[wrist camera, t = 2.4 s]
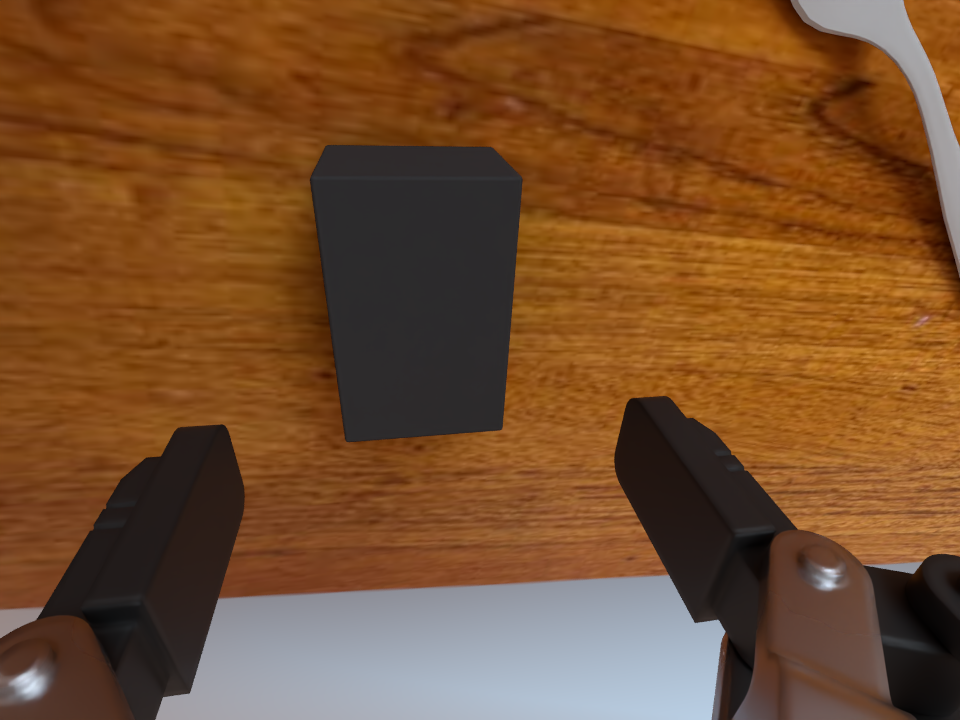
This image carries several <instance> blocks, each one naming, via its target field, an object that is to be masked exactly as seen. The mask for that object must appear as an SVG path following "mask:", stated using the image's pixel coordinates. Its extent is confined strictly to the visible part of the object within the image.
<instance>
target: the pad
mask: <svg viewBox="0 0 960 720" xmlns="http://www.w3.org/2000/svg"><path fill="white" fill-rule="evenodd" d="M310 184H311V191H312V198H313V206H314V213H315V221H316V228H317V235H318V243H319V250H320V257H321V265H322V272H323V279H324V287H325V294H326V301H327V309H328V316H329V324H330V331H331V338H332V346H333V353H334V360H335V368H336V375H337V382H338V390H339V397H340V404H341V412H342V419H343V426H344V434H345V440H346V441H347V442H357V441H370V440H382V439H395V438H408V437H421V436H433V435H446V434H459V433H472V432H485V431H497V430H502V427H503V415H504V402H505V390H506V378H507V365H508V353H509V341H510V328H511V316H512V303H513V291H514V279H515V266H516V254H517V242H518V229H519V217H520V205H521V192H522V177H521V176H520V175H519V174H518V173H517V172H516V171H515V170H514V169H513V168H512V167H511V166H510V165H509V164H508V163H507V162H506V161H505V160H504V159H503V158H502V157H501V156H500V155H499V154H498V153H497V152H496V151H495V150H494V149H493V148H492V147H438V146H354V145H327V146H326V147H325V149H324V151H323V153H322V155H321V157H320V159H319V161H318V163H317V165H316V167H315V169H314V171H313V173H312V175H311V178H310Z"/></svg>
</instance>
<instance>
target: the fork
mask: <svg viewBox="0 0 960 720" xmlns="http://www.w3.org/2000/svg"><path fill="white" fill-rule="evenodd" d="M791 3H792V5H793V7H794V9H795V10H796V11H797V13H798V14H799V16H800V17H801V19H802V20H803V21H804V22H805V23H807V24H809V25H810V26H812V27H814V28H815V29H817V30H819V31H821V32H826V33H830V34H835V35H840V36H845V37H851V38H856V39H859V40H862V41H865V42H868V43H870V44H872V45H873V46H875V47H877V48H878V49H880V50H882V51H883V52H884V53H885V54H886V55H887V56H888V57H889V58H890V59H891V60H892V61H893V62H895V64H896V65H897V66H898V68H899V69H900V71H901V72H902V73H903V75H904V76H905V78H906V80H907V82H908V84H909V86H910V87H911V89H912V91H913V94H914V97H915V100H916V103H917V106H918V109H919V112H920V115H921V119H922V122H923V126H924V130H925V134H926V138H927V142H928V145H929V150H930V154H931V159H932V164H933V169H934V174H935V179H936V184H937V188H938V193H939V199H940V204H941V209H942V214H943V218H944V222H945V226H946V229H947V233H948V236H949V240H950V243H951V247H952V250H953V254H954V258H955V261H956V265H957V269H958V272H959V276H960V147H959V144H958V142H957V139H956V137H955V134H954V132H953V129H952V126H951V122H950V119H949V116H948V113H947V110H946V107H945V103H944V100H943V97H942V94H941V91H940V88H939V85H938V82H937V79H936V76H935V74H934V71H933V69H932V67H931V64H930V62H929V59H928V57H927V55H926V53H925V51H924V49H923V47H922V45H921V43H920V41H919V39H918V37H917V36H916V34H915V32H914V30H913V28H912V26H911V23H910V21H909V18H908V15H907V13H906V10H905V7H904V2H903V0H791Z"/></svg>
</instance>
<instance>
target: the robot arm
mask: <svg viewBox="0 0 960 720" xmlns="http://www.w3.org/2000/svg"><path fill="white" fill-rule="evenodd" d="M614 463H615V470H616V475H617V478H618V481H619V483H620V485H621V487H622V488H623V490H624V492H625V494H626V496H627V498H628V500H629V501H630V503H631V505H632V507H633V509H634V511H635V513H636V514H637V516H638V518H639V520H640V522H641V524H642V526H643V527H644V529H645V531H646V533H647V535H648V537H649V539H650V540H651V542H652V544H653V546H654V548H655V550H656V552H657V553H658V555H659V557H660V559H661V561H662V563H663V565H664V566H665V568H666V570H667V572H668V574H669V576H670V578H671V579H672V581H673V583H674V585H675V587H676V589H677V590H678V592H679V594H680V596H681V598H682V600H683V601H684V603H685V605H686V607H687V609H688V611H689V613H690V615H691V616H692V618H693V620H694V622H695V623H698V622H705V621H712V620H719V621H720V623H721V624H722V626H723V628H724V630H725V631H726V632H725V635H724V636H723V638H722V642H721V648H720V657H719V665H718V673H717V681H716V689H715V698H714V705H713V714H712V720H960V557H959V556H955V555H948V554H936V555H932V556H929V557H927V558H926V559H925V560H924V561H923V563H922V564H921V565H920V567H919V568H918V569H917V570H916V572H915V573H914V574H910V573H905V572H899V571H893V570H887V569H881V568H875V567H870V566H864V565H862V564H861V563H860V561H859V560H858V559H857V558H856V557H855V556H854V555H853V554H851V553H850V552H849V551H848V550H846V549H845V548H844V547H842V546H841V545H839V544H838V543H836V542H834V541H832V540H830V539H829V538H826V537H824V536H822V535H819V534H816V533H813V532H809V531H804V530H798V529H797V528H796V527H795V526H794V525H793V523H792V522H791V521H790V520H789V519H788V518H787V516H786V515H785V514H784V513H783V512H782V511H781V509H780V508H779V507H778V506H777V505H776V504H775V502H774V501H773V500H772V499H771V498H770V497H769V495H768V494H767V493H766V492H765V491H764V489H763V488H762V487H761V486H760V485H759V484H758V482H757V481H756V480H755V479H754V478H753V477H752V475H751V474H750V473H749V472H748V471H745V470H744V466H743V465H742V464H741V463H740V461H739V460H738V459H737V458H736V457H735V456H734V455H731V451H730V450H729V448H728V447H727V446H726V445H725V444H724V443H723V441H722V440H721V439H720V438H719V437H718V436H717V434H716V433H714V432H713V431H711V430H710V429H709V428H707V427H706V426H704V425H703V424H701V423H700V422H698V421H697V420H695V419H694V418H686V417H685V416H684V414H683V413H682V412H681V411H680V409H679V408H678V407H677V406H676V405H675V403H674V402H673V401H672V400H671V399H670V398H669V397H667V396H658V397H643V398H632V399H630V400H629V401H628V403H627V405H626V408H625V412H624V416H623V421H622V425H621V429H620V433H619V438H618V442H617V446H616V450H615V457H614ZM244 498H245V496H244V485H243V481H242V477H241V474H240V470H239V467H238V463H237V460H236V456H235V453H234V449H233V446H232V442H231V439H230V435H229V432H228V430H227V428H226V426H224V425H207V426H192V427H180V428H178V429H176V431H175V432H174V433H173V435H172V437H171V439H170V441H169V443H168V445H167V446H166V448H165V450H164V452H163V454H162V456H161V457H148V458H145V459H144V460H143V461H142V462H141V463H140V464H138V465H137V466H136V467H135V468H134V469H133V470H132V471H130V472H129V473H128V474H127V475H126V476H125V477H123V478H122V479H121V480H120V482H119V484H118V485H117V487H116V489H115V490H114V492H113V494H112V495H111V497H110V499H109V500H108V502H107V504H106V509H103V510H102V512H101V514H100V515H99V517H98V519H97V520H96V522H95V524H94V530H93V531H90V532H89V534H88V535H87V537H86V539H85V540H84V542H83V544H82V545H81V547H80V549H79V550H78V552H77V554H76V555H75V557H74V559H73V560H72V562H71V564H70V565H69V567H68V569H67V570H66V572H65V574H64V575H63V577H62V579H61V580H60V582H59V584H58V585H57V587H56V589H55V590H54V592H53V594H52V595H51V597H50V599H49V600H48V602H47V604H46V605H45V607H44V609H43V610H42V612H41V614H40V615H39V617H38V618H37V620H36V621H33V622H31V623H28V624H26V625H24V626H21V627H20V628H17V629H15V630H14V631H12V632H10V633H9V634H7V635H5V636H3V637H2V638H0V720H155V719H156V716H157V713H158V710H159V707H160V704H161V701H162V698H163V697H167V696H174V695H181V694H188V693H190V691H191V688H192V685H193V681H194V678H195V674H196V671H197V668H198V664H199V661H200V658H201V654H202V651H203V647H204V644H205V641H206V637H207V634H208V631H209V627H210V624H211V620H212V617H213V613H214V610H215V607H216V604H217V600H218V597H219V594H220V590H221V587H222V583H223V580H224V577H225V573H226V570H227V567H228V563H229V560H230V557H231V553H232V550H233V546H234V543H235V540H236V536H237V533H238V530H239V526H240V523H241V519H242V516H243V511H244Z"/></svg>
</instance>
